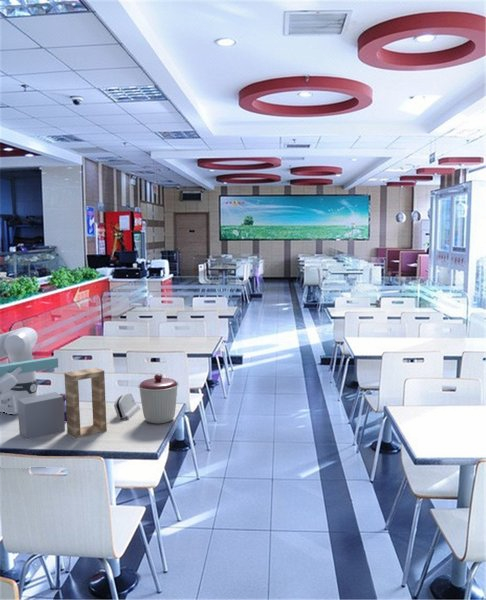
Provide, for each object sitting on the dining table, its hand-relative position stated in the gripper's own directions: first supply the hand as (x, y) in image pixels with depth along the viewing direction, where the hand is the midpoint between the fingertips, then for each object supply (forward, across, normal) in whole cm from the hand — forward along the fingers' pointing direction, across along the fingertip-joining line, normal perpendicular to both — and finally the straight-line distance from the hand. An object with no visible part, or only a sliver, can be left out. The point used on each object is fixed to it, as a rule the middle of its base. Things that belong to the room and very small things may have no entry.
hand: (18, 366), depth 224 cm
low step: (-8, 0, -30) cm, 31 cm away
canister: (+32, +19, -53) cm, 65 cm away
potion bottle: (+3, -10, -36) cm, 38 cm away
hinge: (+26, +1, -50) cm, 56 cm away
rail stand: (+5, +12, -37) cm, 39 cm away
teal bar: (+2, 0, -4) cm, 4 cm away
